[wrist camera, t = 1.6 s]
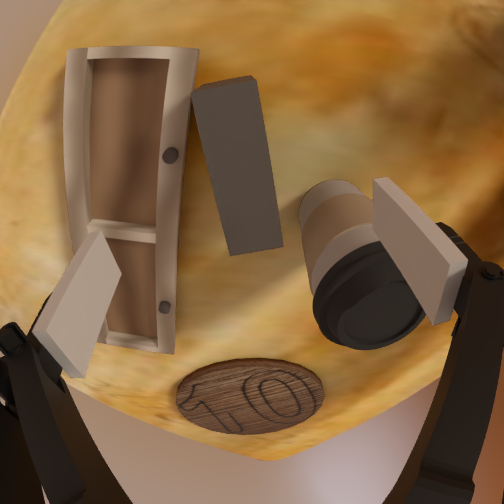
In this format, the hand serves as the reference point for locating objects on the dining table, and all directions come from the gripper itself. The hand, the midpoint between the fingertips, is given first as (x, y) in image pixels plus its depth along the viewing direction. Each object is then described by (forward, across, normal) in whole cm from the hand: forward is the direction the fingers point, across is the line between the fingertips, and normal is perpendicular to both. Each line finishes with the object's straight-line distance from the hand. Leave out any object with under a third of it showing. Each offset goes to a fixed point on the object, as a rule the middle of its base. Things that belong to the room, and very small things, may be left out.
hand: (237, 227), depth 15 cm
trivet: (+15, +6, +42) cm, 45 cm away
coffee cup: (+15, -8, +8) cm, 19 cm away
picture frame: (+15, 0, 0) cm, 15 cm away
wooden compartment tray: (+15, +12, +5) cm, 20 cm away
